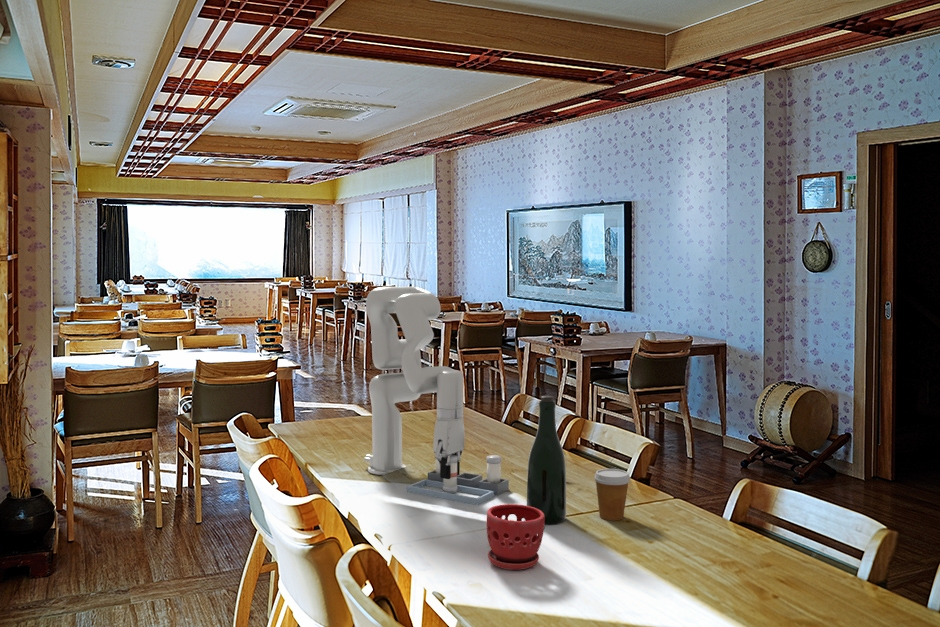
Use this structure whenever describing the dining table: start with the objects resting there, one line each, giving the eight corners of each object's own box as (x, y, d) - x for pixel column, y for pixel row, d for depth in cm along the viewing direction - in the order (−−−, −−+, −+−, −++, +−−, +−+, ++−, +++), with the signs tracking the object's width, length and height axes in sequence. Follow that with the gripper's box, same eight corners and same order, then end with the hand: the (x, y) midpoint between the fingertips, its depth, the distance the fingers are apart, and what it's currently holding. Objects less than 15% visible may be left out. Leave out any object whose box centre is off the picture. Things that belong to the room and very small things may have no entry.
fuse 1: (432, 482, 246) (432, 449, 246) (440, 479, 250) (440, 446, 249) (444, 484, 244) (444, 451, 243) (451, 481, 248) (451, 448, 247)
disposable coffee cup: (608, 524, 212) (608, 479, 211) (586, 514, 221) (587, 470, 220) (637, 519, 216) (637, 474, 216) (614, 509, 225) (615, 466, 224)
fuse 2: (483, 491, 237) (483, 457, 236) (491, 487, 240) (491, 454, 240) (496, 493, 235) (496, 459, 234) (503, 490, 238) (503, 456, 238)
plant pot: (501, 578, 177) (502, 523, 176) (477, 557, 189) (477, 506, 188) (554, 569, 182) (555, 516, 181) (527, 549, 194) (527, 500, 193)
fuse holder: (425, 488, 245) (425, 473, 245) (440, 481, 252) (440, 467, 252) (496, 501, 233) (496, 485, 232) (510, 494, 239) (510, 479, 239)
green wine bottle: (519, 515, 219) (520, 394, 217) (553, 511, 223) (555, 391, 221) (538, 527, 210) (539, 400, 207) (573, 522, 214) (574, 397, 212)
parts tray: (406, 496, 237) (406, 486, 237) (424, 489, 244) (424, 479, 244) (477, 509, 224) (477, 499, 224) (494, 501, 232) (494, 491, 232)
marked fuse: (439, 491, 233) (440, 456, 233) (448, 487, 237) (448, 453, 236) (452, 493, 231) (452, 458, 231) (460, 490, 235) (460, 455, 234)
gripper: (454, 407, 242) (454, 468, 243) (422, 416, 228) (422, 481, 229) (476, 410, 238) (476, 471, 239) (444, 419, 224) (444, 485, 225)
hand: (449, 475), depth 234 cm, fingers closed on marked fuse, 4 cm apart
